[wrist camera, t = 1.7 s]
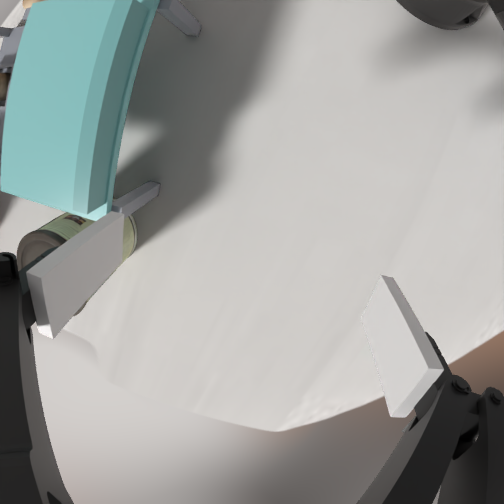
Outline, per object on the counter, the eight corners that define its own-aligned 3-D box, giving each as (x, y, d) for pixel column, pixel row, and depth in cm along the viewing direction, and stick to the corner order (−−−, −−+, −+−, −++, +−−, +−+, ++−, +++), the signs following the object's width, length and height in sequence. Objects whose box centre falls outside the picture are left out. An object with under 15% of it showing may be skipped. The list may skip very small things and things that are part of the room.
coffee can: (89, 265, 43) (36, 316, 30) (71, 201, 38) (5, 237, 26) (146, 260, 41) (99, 319, 28) (128, 189, 37) (65, 226, 24)
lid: (38, 4, 18) (13, -2, 14) (162, -6, 18) (144, -23, 14) (6, 188, 27) (-18, 198, 23) (110, 220, 27) (87, 236, 24)
